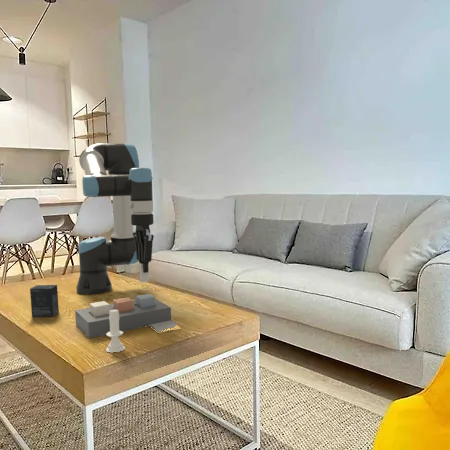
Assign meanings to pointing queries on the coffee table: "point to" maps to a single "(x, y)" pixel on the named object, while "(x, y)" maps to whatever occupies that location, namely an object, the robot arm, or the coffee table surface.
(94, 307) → the ivory key
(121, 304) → the terracotta key
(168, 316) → the key panel
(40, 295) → the box
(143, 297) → the slate key
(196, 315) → the coffee table surface
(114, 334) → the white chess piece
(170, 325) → the smartphone
